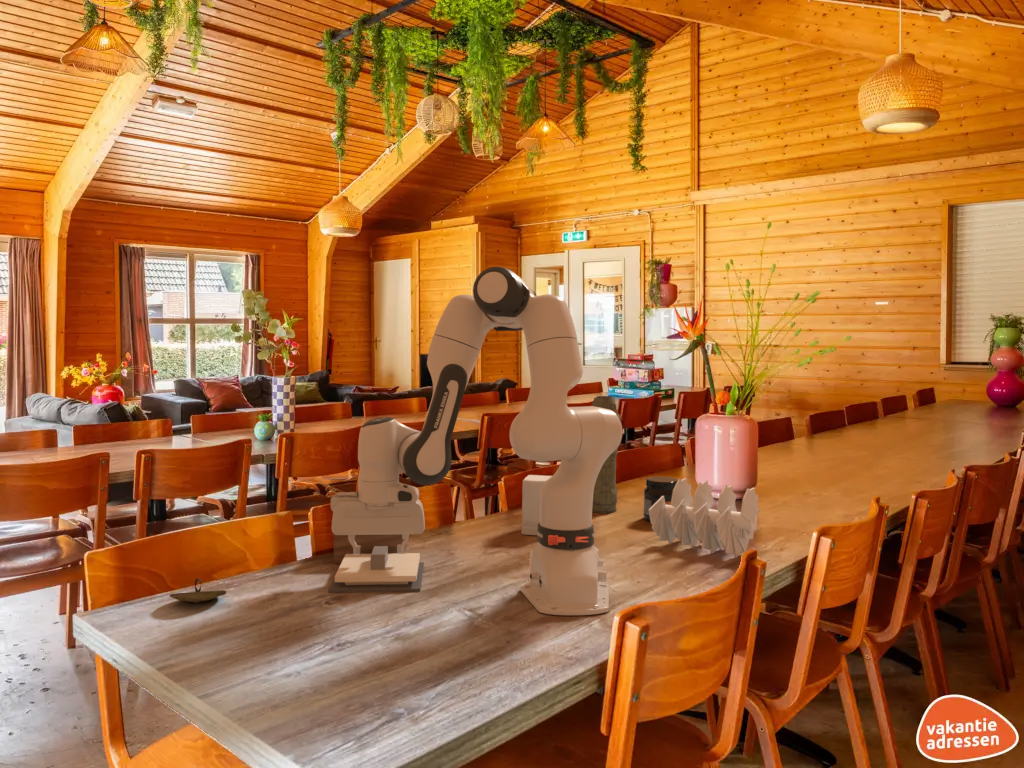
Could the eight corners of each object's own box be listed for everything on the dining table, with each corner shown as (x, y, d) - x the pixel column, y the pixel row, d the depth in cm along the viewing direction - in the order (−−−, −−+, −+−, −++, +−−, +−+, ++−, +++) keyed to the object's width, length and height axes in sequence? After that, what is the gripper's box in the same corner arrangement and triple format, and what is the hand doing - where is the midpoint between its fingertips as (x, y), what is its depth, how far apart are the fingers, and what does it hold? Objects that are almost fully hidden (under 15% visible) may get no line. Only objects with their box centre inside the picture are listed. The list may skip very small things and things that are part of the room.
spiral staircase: (669, 553, 213) (761, 566, 197) (640, 536, 200) (736, 549, 184) (681, 487, 218) (771, 495, 203) (653, 467, 205) (747, 474, 190)
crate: (402, 563, 188) (402, 525, 187) (333, 563, 186) (333, 525, 186) (406, 544, 203) (406, 510, 203) (343, 545, 202) (343, 510, 202)
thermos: (612, 515, 238) (614, 398, 236) (578, 509, 245) (580, 396, 243) (626, 510, 245) (628, 396, 243) (593, 504, 252) (595, 394, 250)
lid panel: (416, 586, 169) (416, 561, 168) (334, 587, 167) (334, 562, 167) (419, 563, 185) (419, 540, 185) (345, 564, 184) (345, 541, 184)
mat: (420, 591, 167) (420, 588, 167) (328, 592, 166) (328, 589, 166) (423, 564, 186) (423, 562, 186) (341, 565, 185) (341, 563, 185)
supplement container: (686, 522, 231) (687, 481, 230) (655, 525, 227) (656, 483, 226) (666, 514, 240) (667, 475, 239) (636, 517, 236) (637, 477, 236)
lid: (167, 615, 152) (166, 589, 152) (172, 598, 162) (171, 574, 161) (225, 610, 155) (225, 584, 155) (227, 593, 165) (227, 570, 165)
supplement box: (553, 537, 213) (554, 481, 212) (520, 535, 214) (521, 480, 213) (558, 529, 221) (559, 475, 220) (527, 527, 223) (527, 474, 222)
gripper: (328, 495, 171) (328, 558, 171) (424, 494, 172) (424, 557, 173) (332, 489, 177) (333, 550, 178) (425, 488, 179) (425, 549, 179)
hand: (378, 553), depth 175 cm, fingers open, 8 cm apart
